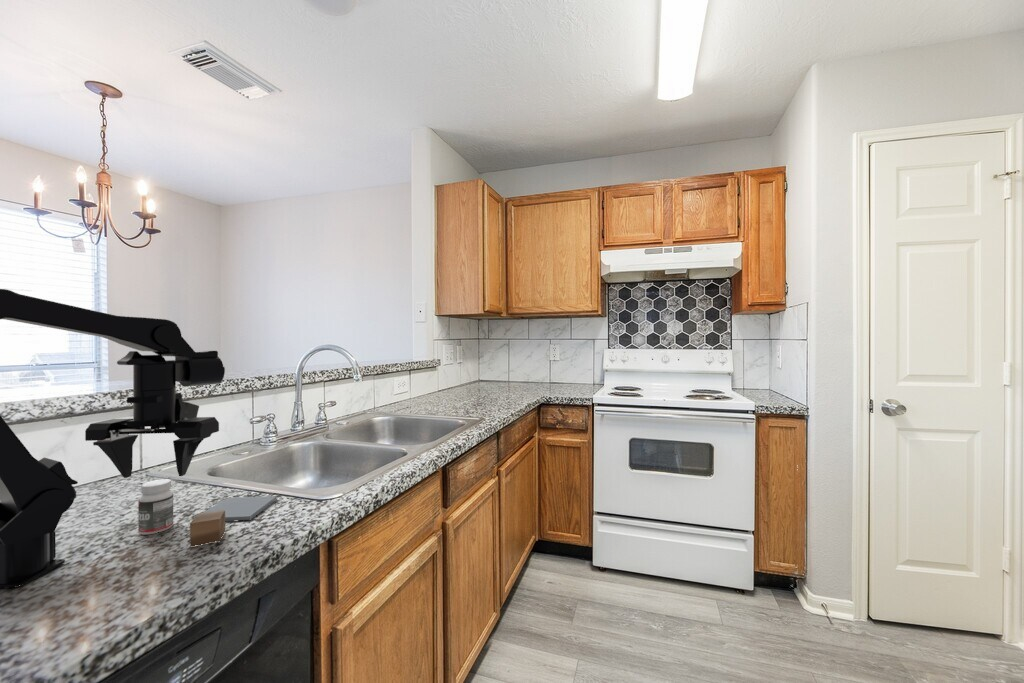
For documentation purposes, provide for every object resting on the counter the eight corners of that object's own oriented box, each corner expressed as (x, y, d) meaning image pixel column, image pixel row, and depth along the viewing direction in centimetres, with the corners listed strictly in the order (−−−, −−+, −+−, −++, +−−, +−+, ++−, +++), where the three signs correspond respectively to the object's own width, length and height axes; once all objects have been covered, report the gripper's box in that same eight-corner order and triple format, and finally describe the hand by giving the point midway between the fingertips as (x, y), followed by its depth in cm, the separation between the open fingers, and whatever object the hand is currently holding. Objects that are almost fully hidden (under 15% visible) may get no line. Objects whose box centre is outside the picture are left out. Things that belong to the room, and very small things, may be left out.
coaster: (250, 520, 76) (250, 516, 76) (193, 522, 75) (193, 518, 75) (276, 499, 86) (276, 496, 86) (226, 501, 85) (226, 497, 85)
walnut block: (219, 542, 68) (219, 518, 68) (190, 548, 66) (189, 523, 66) (225, 532, 71) (225, 510, 72) (197, 537, 70) (197, 514, 70)
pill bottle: (133, 531, 72) (133, 484, 72) (165, 521, 76) (165, 476, 76) (145, 537, 70) (145, 488, 70) (178, 526, 74) (178, 480, 74)
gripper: (236, 384, 82) (236, 461, 82) (137, 385, 80) (137, 464, 80) (198, 390, 71) (198, 480, 70) (82, 392, 69) (82, 484, 69)
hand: (155, 476), depth 73 cm, fingers open, 9 cm apart
